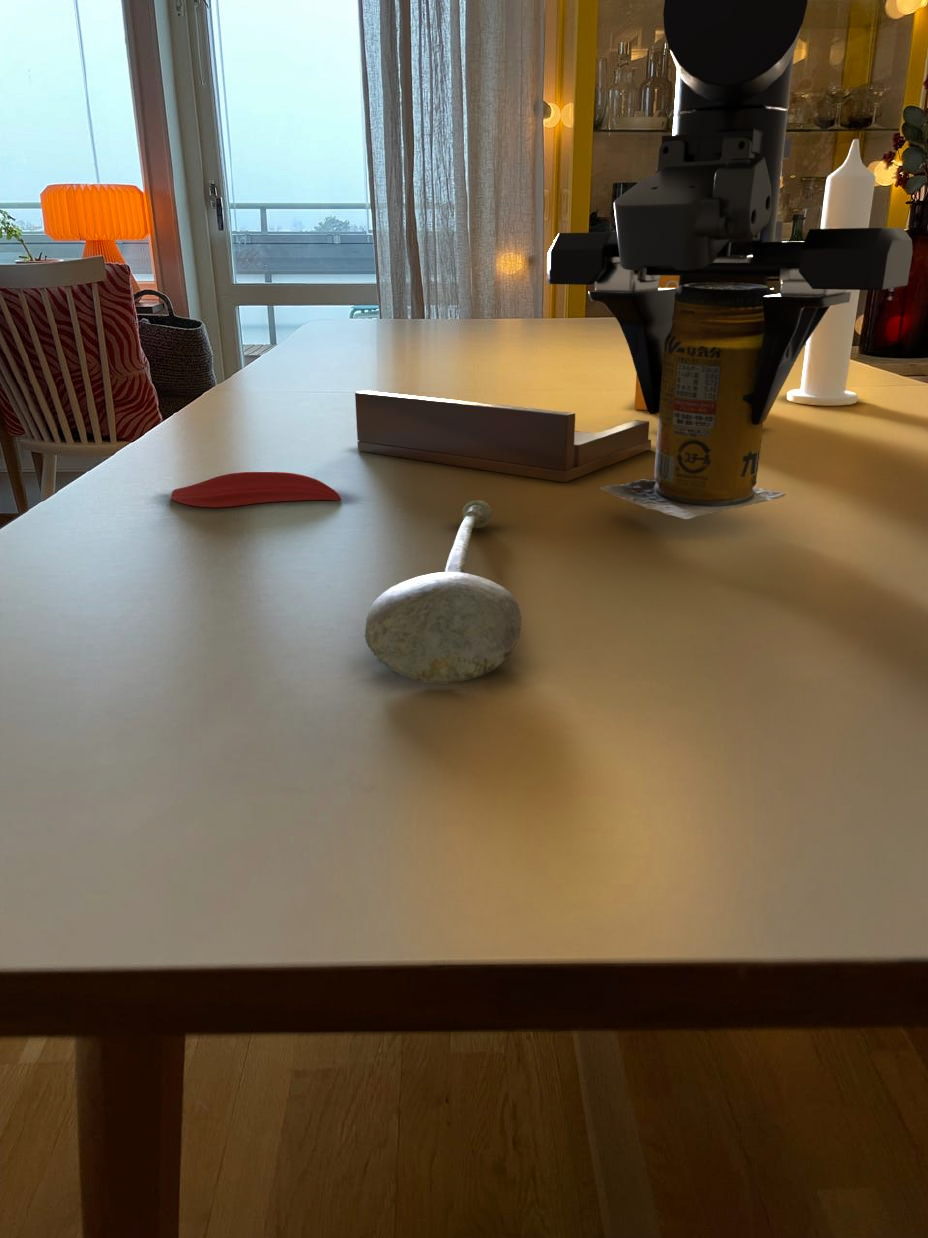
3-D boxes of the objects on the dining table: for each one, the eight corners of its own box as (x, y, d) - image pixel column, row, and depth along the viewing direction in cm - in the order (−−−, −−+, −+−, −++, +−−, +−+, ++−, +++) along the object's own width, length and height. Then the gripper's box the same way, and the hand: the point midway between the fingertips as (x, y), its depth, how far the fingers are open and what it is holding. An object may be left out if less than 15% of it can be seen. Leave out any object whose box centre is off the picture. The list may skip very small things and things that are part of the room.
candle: (867, 405, 97) (908, 134, 87) (798, 406, 97) (832, 135, 87) (842, 395, 103) (878, 141, 94) (778, 395, 103) (807, 142, 94)
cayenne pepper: (154, 504, 62) (151, 476, 62) (187, 487, 67) (184, 461, 66) (325, 512, 60) (324, 483, 59) (348, 494, 64) (346, 467, 64)
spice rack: (457, 425, 88) (456, 373, 87) (651, 449, 77) (654, 390, 76) (357, 450, 78) (354, 392, 76) (565, 482, 67) (567, 414, 65)
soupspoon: (349, 695, 37) (514, 708, 37) (347, 618, 36) (519, 630, 35) (425, 522, 57) (532, 529, 57) (426, 468, 56) (536, 475, 55)
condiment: (786, 497, 56) (814, 285, 51) (685, 522, 52) (705, 293, 47) (696, 472, 61) (713, 278, 57) (598, 493, 57) (608, 285, 52)
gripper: (493, 115, 48) (493, 424, 53) (879, 76, 37) (826, 464, 43) (598, 132, 56) (588, 398, 62) (938, 104, 46) (887, 426, 51)
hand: (704, 418), depth 54 cm, fingers closed on condiment, 6 cm apart
